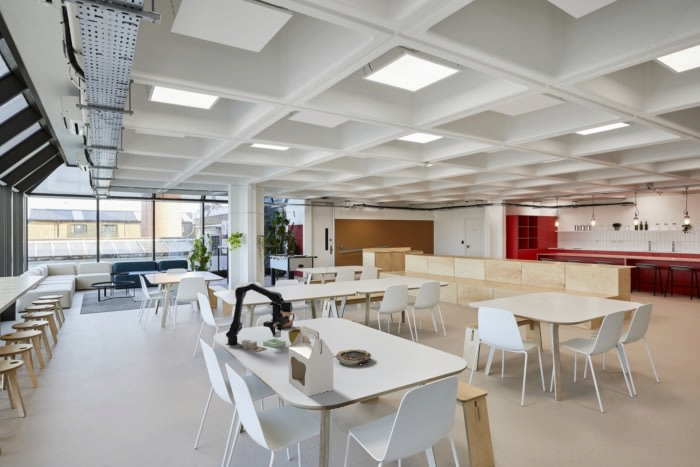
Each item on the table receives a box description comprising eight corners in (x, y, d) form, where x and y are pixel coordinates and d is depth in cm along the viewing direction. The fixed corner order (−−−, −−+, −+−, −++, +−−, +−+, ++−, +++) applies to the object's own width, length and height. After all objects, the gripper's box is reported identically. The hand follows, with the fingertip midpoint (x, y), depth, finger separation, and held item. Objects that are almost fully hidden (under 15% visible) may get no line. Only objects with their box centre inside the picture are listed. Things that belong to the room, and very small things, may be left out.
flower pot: (300, 346, 262) (300, 332, 262) (288, 345, 264) (288, 332, 264) (304, 342, 271) (304, 329, 271) (292, 342, 273) (292, 329, 273)
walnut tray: (238, 347, 259) (238, 346, 259) (247, 345, 265) (247, 343, 265) (257, 352, 247) (257, 351, 247) (266, 350, 253) (266, 348, 253)
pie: (386, 361, 230) (386, 353, 230) (353, 374, 211) (353, 364, 211) (352, 352, 250) (352, 344, 250) (320, 362, 231) (319, 353, 231)
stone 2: (272, 336, 262) (272, 330, 262) (277, 335, 265) (277, 329, 265) (275, 337, 260) (275, 331, 260) (280, 336, 262) (280, 330, 263)
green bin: (263, 345, 264) (263, 341, 264) (273, 342, 271) (273, 338, 271) (274, 348, 257) (274, 343, 257) (285, 345, 264) (285, 340, 264)
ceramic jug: (276, 330, 306) (277, 312, 306) (270, 326, 319) (271, 309, 319) (298, 328, 316) (298, 310, 316) (291, 324, 328) (291, 307, 328)
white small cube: (247, 348, 255) (247, 342, 255) (252, 346, 259) (252, 340, 259) (252, 349, 253) (252, 343, 253) (256, 347, 257) (256, 341, 257)
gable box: (288, 382, 197) (288, 326, 197) (311, 376, 204) (311, 323, 205) (309, 397, 178) (308, 335, 179) (333, 390, 186) (333, 331, 186)
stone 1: (241, 346, 260) (241, 340, 260) (246, 345, 263) (246, 339, 263) (245, 347, 257) (245, 341, 257) (250, 346, 260) (250, 340, 260)
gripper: (274, 315, 250) (274, 340, 250) (295, 311, 265) (295, 334, 265) (262, 313, 257) (262, 337, 257) (283, 309, 272) (283, 331, 272)
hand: (276, 335), depth 263 cm, fingers closed on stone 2, 4 cm apart
